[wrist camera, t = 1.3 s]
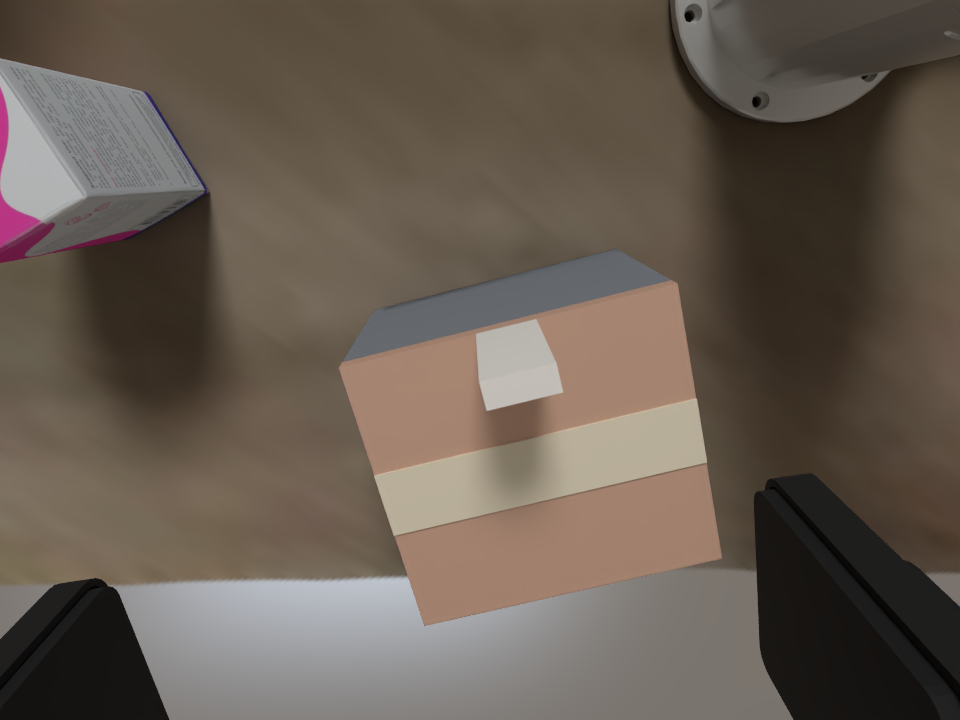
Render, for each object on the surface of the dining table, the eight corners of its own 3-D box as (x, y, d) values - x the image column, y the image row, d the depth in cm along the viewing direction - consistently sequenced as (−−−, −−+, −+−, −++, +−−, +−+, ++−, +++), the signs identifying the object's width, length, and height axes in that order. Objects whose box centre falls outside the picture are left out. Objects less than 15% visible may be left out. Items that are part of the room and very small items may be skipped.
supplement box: (146, 86, 33) (-12, 48, 22) (212, 192, 35) (95, 206, 24) (54, 141, 34) (-144, 131, 23) (123, 243, 35) (-31, 279, 24)
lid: (671, 280, 26) (738, 318, 20) (715, 548, 30) (784, 654, 24) (342, 362, 27) (304, 425, 21) (425, 614, 31) (414, 735, 24)
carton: (616, 248, 36) (670, 279, 27) (655, 455, 40) (714, 547, 30) (374, 310, 37) (342, 361, 27) (434, 507, 40) (425, 613, 31)
